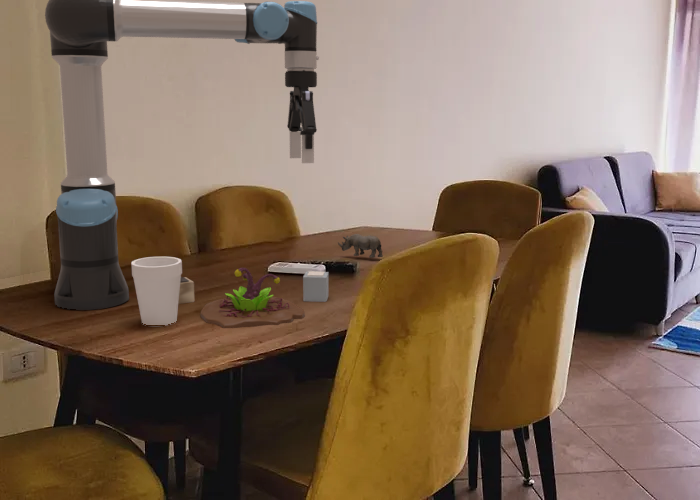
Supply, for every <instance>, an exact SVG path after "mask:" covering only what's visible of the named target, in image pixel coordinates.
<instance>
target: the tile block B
mask: <svg viewBox="0 0 700 500" xmlns="http://www.w3.org/2000/svg"><path fill="white" fill-rule="evenodd" d="M302 289H303V290H302V294H303V296H302V297H303V298H302V299H303V302H317V303H318V302H319V303H321V302H324V303H326V302H327V301H328V298H329V271H311V270H309V271H305V273H304V274H303V277H302Z"/></svg>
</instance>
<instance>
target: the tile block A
mask: <svg viewBox="0 0 700 500" xmlns="http://www.w3.org/2000/svg"><path fill="white" fill-rule="evenodd" d="M194 302H195V282H194V281H193V280H191V279H189V278H188V277H186V276H181V280H180V291H179V301H178V305H181V304H186V303H187V304H189V303H194Z"/></svg>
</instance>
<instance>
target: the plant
mask: <svg viewBox="0 0 700 500" xmlns="http://www.w3.org/2000/svg"><path fill="white" fill-rule="evenodd" d="M243 272H244V274H243ZM245 272H246V273H245ZM233 274H234V276H235V277H236V278H237V277H238V278H239V277H241V276H242V280H243V281H245V282H246V281H247V287H244V286H242V285H240V286H239V288H238V290H237V289H235V288H234V289H232V291H233V293H234V294H235V296H234V295H233V294H231V293H226V292H225V293H224V294H225V296H226V297H225V298H219V299H216V300H213V301H210V302H208V303H205V304H204V306H203V307H202V308H201V310H200V318H201V319H202V320H203V321H204V322H205V323H206V324H213V325H216V326H218V327H221V328H222V329H238V328H248V327H249V328H251V327H259V326H260V327H261V326H279V325H281V324H289V323H292V322H293V321H294V320H302V319H304V317H305V310H304V308H301V307H300V306H299V305H297V304H296V303H294V302H293V301H291V300H288V299H284V298H283V297H281V298H280V297H276V296H274V294H270V292H271V290H272V288H271V287H270V286H269V287H266V288H265V287H264V288H263V289H261V287H262V284H263V283H264V281H265V279H267V278H269V277H272V278H273V283H274V284H276V285H278V284H279V283H280V281H281V280H280V279H281V278H280V277H279V276H277V275H274V274H273V273H267V274H264V275H263V276H261V277H260V278H259V279H258V281H256V283H254V279H253V278H254V276H253V275H252V273H251V272H250V270H249V269H248V268H246V267H240V268H237V269H236V270H235V271H234V273H233ZM242 274H243V275H242ZM269 294H270V295H269Z"/></svg>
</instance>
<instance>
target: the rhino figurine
mask: <svg viewBox="0 0 700 500" xmlns="http://www.w3.org/2000/svg"><path fill="white" fill-rule="evenodd" d="M342 238H343V239H344V241H341V243H340V242H337V244H338V246H339V247H340V248H341V250H342V251H343V252H345V251H347V250H349V249H351V248H352V247H353V249H354V251H355V253H354V254H353V257H358V256H360V255H361V256H362V255H365V251H369V250H370V251H371V254H370V255H369V256H368V257H369V258H371V259H374V258H376V254H377V252H378V254H377V258H383V257H384V256H383V249H382V243H381V239H380V238H379V237H378V236H374V235H370V234H369V235H361V234H359V233H353V234H352V235H350V236H349V235H346V237H345V236H342Z"/></svg>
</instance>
